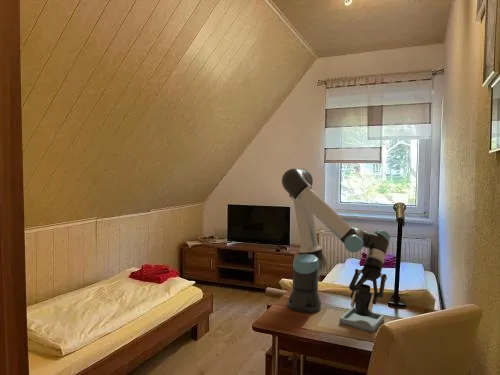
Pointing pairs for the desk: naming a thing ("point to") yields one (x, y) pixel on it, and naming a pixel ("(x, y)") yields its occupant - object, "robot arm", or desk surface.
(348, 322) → the tray
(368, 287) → the supplement bottle
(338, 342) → the desk surface
